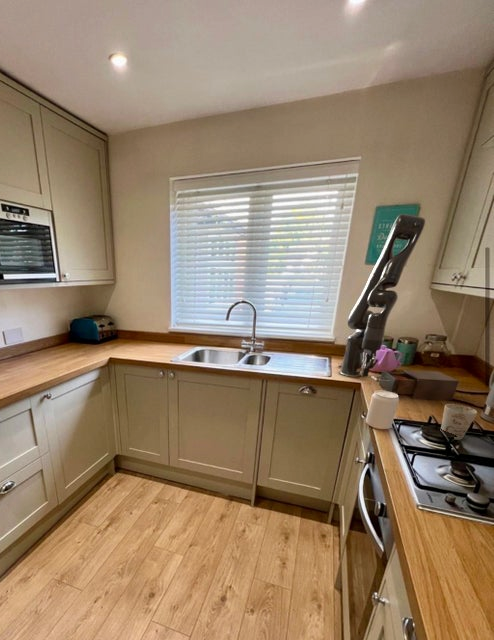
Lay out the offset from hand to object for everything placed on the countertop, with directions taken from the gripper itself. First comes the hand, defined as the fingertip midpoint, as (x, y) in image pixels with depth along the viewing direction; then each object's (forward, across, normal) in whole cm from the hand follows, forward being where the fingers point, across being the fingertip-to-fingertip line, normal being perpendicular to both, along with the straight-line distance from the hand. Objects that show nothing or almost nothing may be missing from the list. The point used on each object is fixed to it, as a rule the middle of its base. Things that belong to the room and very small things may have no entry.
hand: (364, 376), depth 150 cm
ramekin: (+5, 0, -16) cm, 16 cm away
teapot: (+7, +36, -23) cm, 43 cm away
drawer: (+6, 0, -15) cm, 16 cm away
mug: (+8, -42, -14) cm, 44 cm away
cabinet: (+7, 0, -27) cm, 28 cm away
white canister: (+7, -38, +9) cm, 40 cm away
